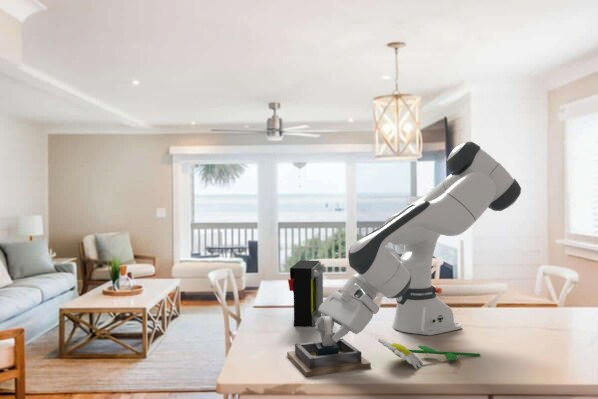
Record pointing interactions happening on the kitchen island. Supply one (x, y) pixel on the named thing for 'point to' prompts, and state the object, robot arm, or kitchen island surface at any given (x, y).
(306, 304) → the electrical component
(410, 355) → the decorative flower
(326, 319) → the watch
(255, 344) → the kitchen island surface
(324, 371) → the dock
